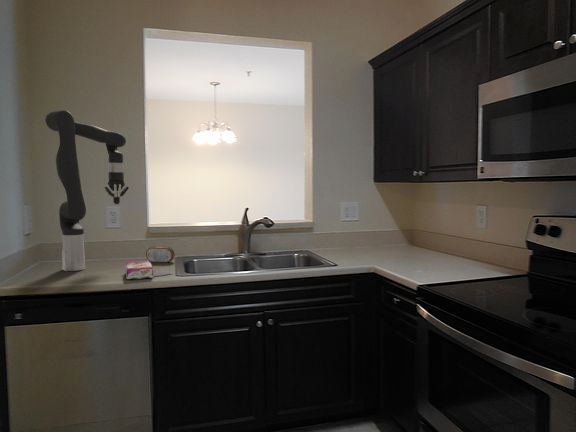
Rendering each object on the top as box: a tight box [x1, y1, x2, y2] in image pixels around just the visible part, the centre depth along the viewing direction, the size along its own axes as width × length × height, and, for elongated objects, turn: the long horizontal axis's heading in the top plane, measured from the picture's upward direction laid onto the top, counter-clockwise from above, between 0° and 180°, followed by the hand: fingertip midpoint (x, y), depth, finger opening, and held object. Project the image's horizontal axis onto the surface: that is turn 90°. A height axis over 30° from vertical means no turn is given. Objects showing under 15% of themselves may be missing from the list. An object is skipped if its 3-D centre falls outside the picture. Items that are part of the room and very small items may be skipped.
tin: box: [145, 245, 175, 264], centre depth 222 cm, size 15×3×8 cm, turn 84°
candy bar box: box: [125, 260, 154, 280], centre depth 189 cm, size 11×5×16 cm
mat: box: [134, 269, 173, 280], centre depth 191 cm, size 17×9×1 cm, turn 130°
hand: (116, 204), depth 223 cm, fingers closed
